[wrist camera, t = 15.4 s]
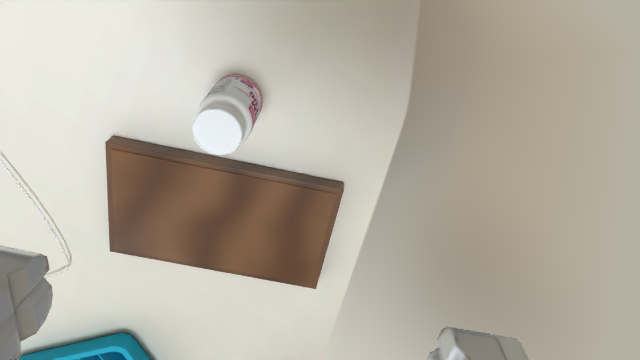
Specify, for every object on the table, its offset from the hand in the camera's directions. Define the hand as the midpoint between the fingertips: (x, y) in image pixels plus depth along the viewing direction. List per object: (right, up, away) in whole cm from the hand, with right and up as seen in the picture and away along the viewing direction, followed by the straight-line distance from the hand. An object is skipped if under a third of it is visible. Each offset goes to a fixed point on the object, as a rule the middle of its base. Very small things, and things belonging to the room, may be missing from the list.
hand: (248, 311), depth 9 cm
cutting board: (-9, -1, +39) cm, 40 cm away
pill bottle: (-6, +11, +33) cm, 35 cm away
